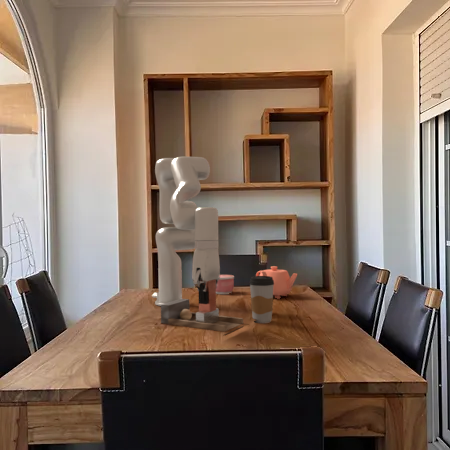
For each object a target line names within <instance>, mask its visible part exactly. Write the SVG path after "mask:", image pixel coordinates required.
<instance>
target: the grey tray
mask: <svg viewBox="0 0 450 450" xmlns="http://www.w3.org/2000/svg"><path fill="white" fill-rule="evenodd" d="M183 309H189V310H190V299H188V298H182V299H179V300H176V301H172V302H169V303H165V304H161V306H160V324H166V325H173V326H180V327H188V328H194V329H201V330H207V331H208V330H210V331H217V332H227V331H229V330H232V329H233V330H232V331H230V332H227V333H225V334H224V335H225V336H226V335H227V336H228V335H229V334H231V333H233V332H235V331H238V330H239V329H242V328H243V327H244V325H243V324H244V318H242V317H235V316H226V315H219V321H216V322H214V323H204V322H196V313H197V312H192V311H191V313H192V317H191V319H190V320H189V321H188V320H182V319H181V318H180V312H181V311H182V310H183ZM240 325H243V326H240ZM238 326H240V327H239V328H236V327H238ZM234 328H236V329H234Z"/></svg>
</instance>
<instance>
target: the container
mask: <svg viewBox="0 0 450 450" xmlns="http://www.w3.org/2000/svg"><path fill="white" fill-rule="evenodd" d="M234 279H235V276H234V275H232V274H220V279H219V280H218V283H217V288H216V295H230V294H229V293H231V294H232V292H233V290H234V286H235V285H234V284H235V280H234Z"/></svg>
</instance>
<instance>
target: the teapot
mask: <svg viewBox="0 0 450 450" xmlns="http://www.w3.org/2000/svg"><path fill="white" fill-rule="evenodd" d="M255 276H270V277H272V278H273V280H274V285H273V296H274V299H275V298H277V299H276V300H280V298H281V297H283V296H286V297H288V295H289V294H290V293H291V292H292V289H293V285H294V284H295V282H296V279H297V277H298V273H295V272H294V273H292V275H291V276H290V273H289V271H288V270H286V269H278V266H275V265H273V266H270V269H263V270H259V271H257V272H256V274H255Z"/></svg>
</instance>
